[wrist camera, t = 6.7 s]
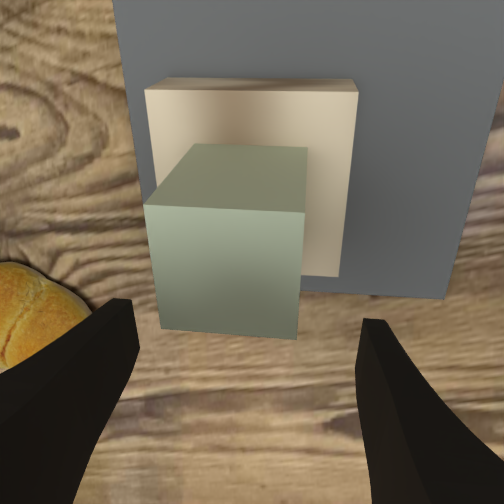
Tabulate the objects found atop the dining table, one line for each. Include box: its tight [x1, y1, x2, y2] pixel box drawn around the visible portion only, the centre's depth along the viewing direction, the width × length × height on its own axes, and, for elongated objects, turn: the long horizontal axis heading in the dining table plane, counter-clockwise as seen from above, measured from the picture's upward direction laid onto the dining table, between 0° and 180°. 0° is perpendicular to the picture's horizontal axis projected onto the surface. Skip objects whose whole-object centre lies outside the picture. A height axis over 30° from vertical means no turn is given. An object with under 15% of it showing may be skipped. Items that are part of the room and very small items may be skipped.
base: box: [144, 77, 359, 277], centre depth 19 cm, size 8×8×3 cm
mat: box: [112, 0, 504, 300], centre depth 20 cm, size 16×14×1 cm
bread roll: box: [0, 262, 92, 369], centre depth 26 cm, size 8×9×4 cm
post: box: [143, 143, 308, 340], centre depth 15 cm, size 4×4×6 cm
